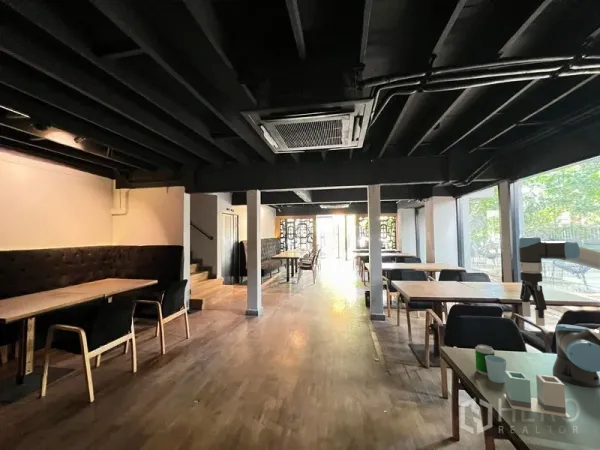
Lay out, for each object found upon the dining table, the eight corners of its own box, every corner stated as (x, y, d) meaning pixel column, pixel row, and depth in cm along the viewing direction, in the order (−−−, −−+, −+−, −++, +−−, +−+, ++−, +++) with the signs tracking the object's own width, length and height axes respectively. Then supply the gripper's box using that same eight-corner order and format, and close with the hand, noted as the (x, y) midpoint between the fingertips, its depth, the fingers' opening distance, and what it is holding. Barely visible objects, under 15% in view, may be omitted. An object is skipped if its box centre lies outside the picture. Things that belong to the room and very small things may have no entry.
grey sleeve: (557, 404, 106) (555, 376, 107) (565, 413, 101) (564, 384, 101) (537, 401, 108) (536, 374, 109) (544, 410, 103) (543, 382, 103)
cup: (508, 389, 119) (507, 364, 120) (486, 385, 123) (485, 360, 124) (506, 381, 126) (505, 357, 126) (485, 377, 130) (484, 354, 130)
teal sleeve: (524, 399, 110) (523, 372, 110) (531, 408, 104) (529, 380, 104) (506, 396, 112) (504, 370, 112) (511, 405, 106) (510, 377, 106)
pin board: (556, 405, 108) (555, 385, 108) (571, 421, 99) (569, 399, 99) (503, 397, 114) (502, 378, 114) (512, 412, 104) (511, 391, 105)
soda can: (498, 377, 129) (497, 350, 130) (480, 376, 131) (479, 349, 131) (490, 369, 137) (489, 344, 137) (473, 368, 138) (472, 343, 139)
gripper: (510, 268, 139) (512, 312, 138) (532, 275, 115) (535, 329, 114) (529, 268, 136) (531, 313, 136) (555, 276, 113) (558, 330, 112)
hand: (533, 320), depth 125 cm, fingers open, 13 cm apart
